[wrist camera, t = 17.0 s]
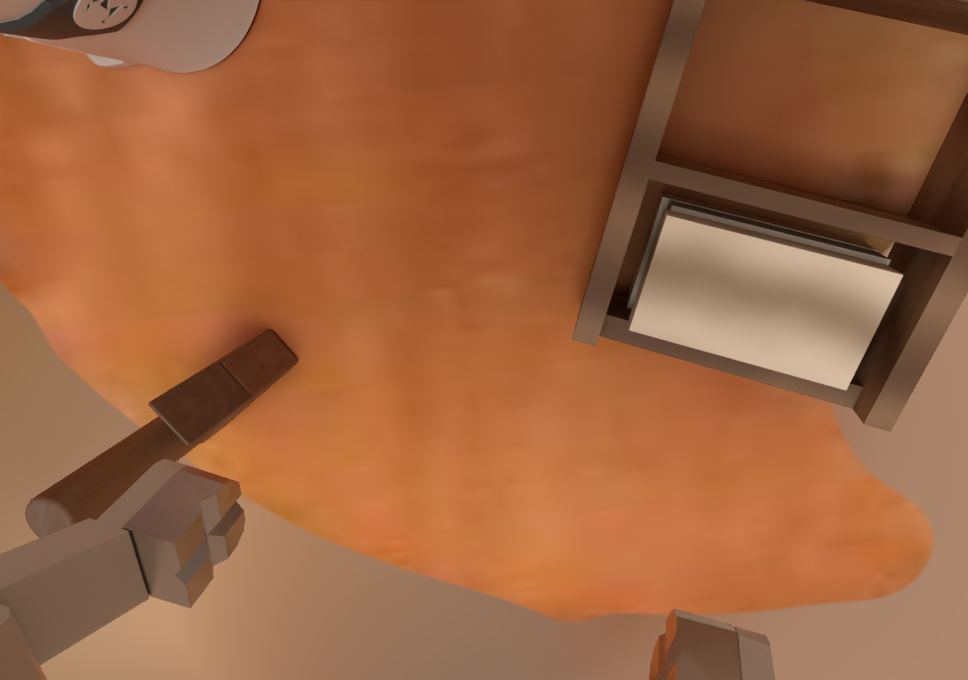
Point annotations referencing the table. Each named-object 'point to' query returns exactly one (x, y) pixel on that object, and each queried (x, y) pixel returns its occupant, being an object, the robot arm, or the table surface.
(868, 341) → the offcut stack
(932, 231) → the walnut rack
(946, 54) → the table surface
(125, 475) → the brown wooden handled piece
